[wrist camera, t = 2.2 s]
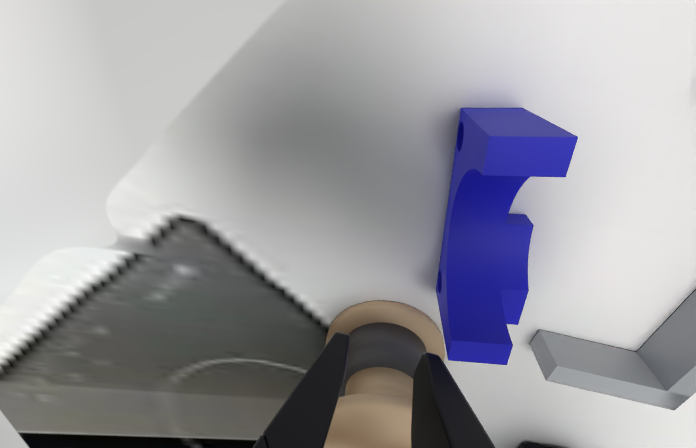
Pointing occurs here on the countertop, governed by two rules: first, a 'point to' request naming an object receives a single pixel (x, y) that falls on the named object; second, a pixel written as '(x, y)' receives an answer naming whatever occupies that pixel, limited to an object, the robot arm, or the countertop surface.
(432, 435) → the robot arm
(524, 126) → the cable clip
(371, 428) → the bobbin
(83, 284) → the countertop surface
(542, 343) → the gray u-shaped bracket
